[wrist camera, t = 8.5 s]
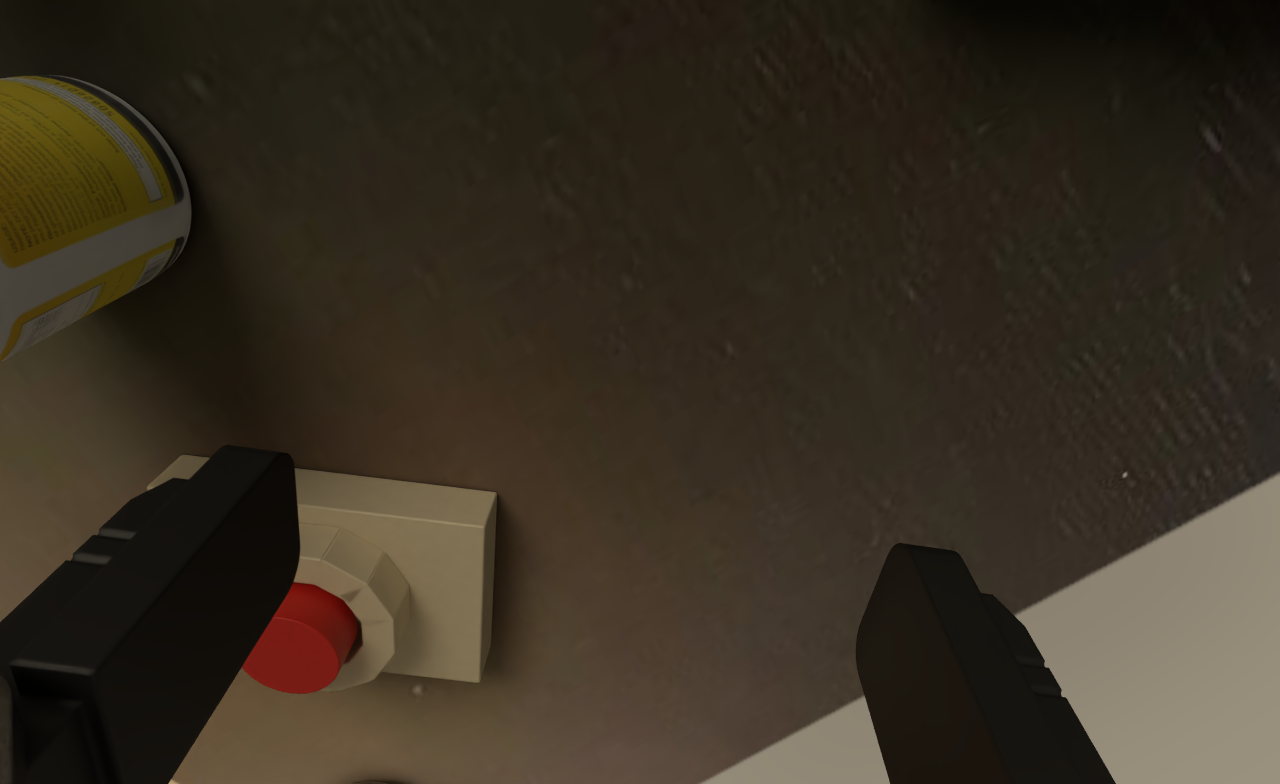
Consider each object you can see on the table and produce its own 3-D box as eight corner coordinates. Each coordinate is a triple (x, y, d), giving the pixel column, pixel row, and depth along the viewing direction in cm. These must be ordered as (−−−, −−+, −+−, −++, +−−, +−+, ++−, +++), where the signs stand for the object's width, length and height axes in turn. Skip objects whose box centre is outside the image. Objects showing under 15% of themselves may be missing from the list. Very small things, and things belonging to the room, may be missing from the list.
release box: (497, 491, 28) (473, 560, 25) (491, 643, 32) (469, 721, 29) (181, 453, 28) (111, 517, 25) (212, 610, 32) (154, 686, 28)
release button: (355, 587, 26) (335, 624, 25) (360, 660, 28) (342, 699, 26) (252, 575, 26) (225, 612, 25) (264, 649, 28) (240, 687, 26)
